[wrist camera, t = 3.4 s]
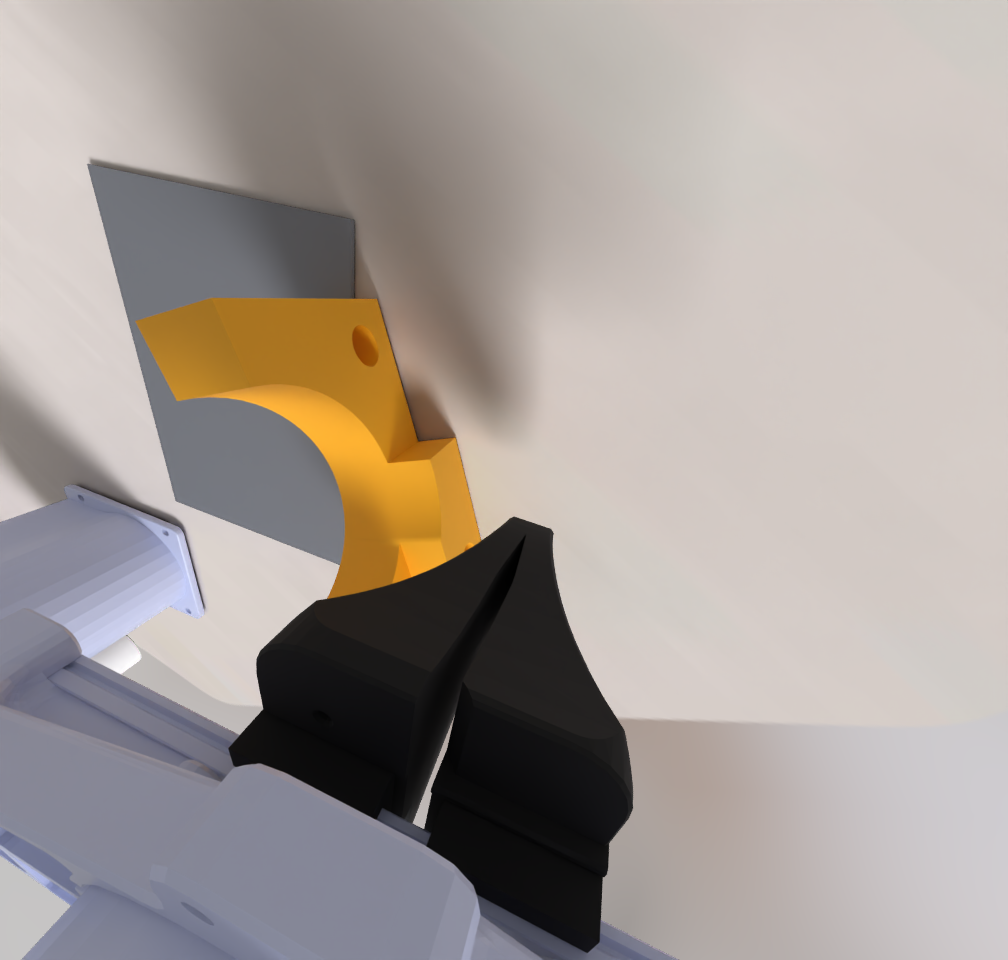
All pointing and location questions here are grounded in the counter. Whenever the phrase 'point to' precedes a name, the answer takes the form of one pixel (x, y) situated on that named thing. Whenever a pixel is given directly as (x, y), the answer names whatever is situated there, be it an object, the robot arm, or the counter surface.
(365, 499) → the pipe clamp
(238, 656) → the counter surface
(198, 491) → the mat
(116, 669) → the tube
